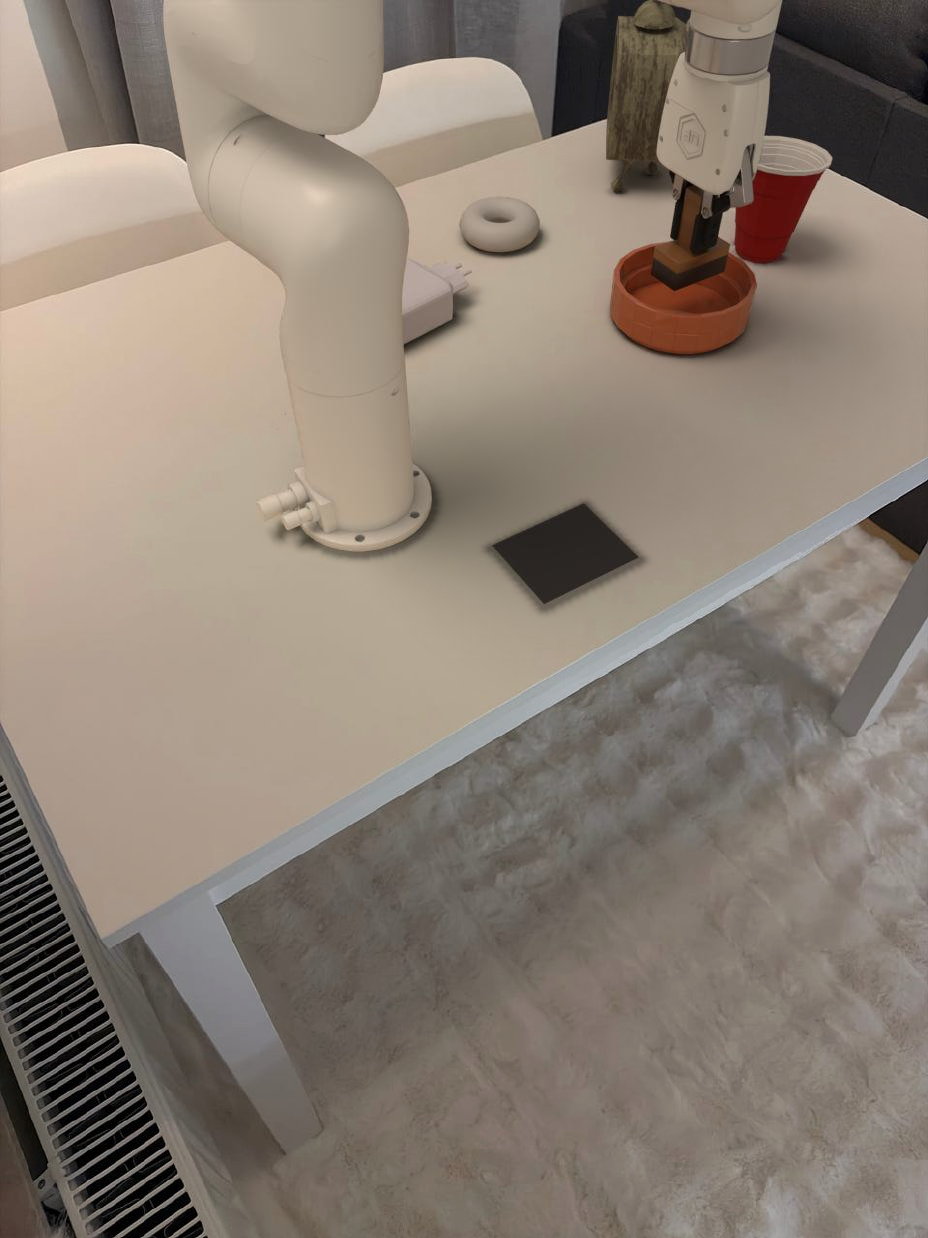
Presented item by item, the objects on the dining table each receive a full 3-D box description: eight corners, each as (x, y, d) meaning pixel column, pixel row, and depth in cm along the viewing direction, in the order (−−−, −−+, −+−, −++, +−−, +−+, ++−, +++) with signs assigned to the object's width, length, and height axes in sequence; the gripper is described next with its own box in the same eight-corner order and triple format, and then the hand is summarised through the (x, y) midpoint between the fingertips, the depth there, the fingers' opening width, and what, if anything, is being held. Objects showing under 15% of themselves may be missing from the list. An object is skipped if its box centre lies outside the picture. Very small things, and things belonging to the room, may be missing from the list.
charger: (493, 302, 106) (392, 355, 99) (440, 271, 110) (340, 320, 104) (493, 264, 102) (389, 316, 96) (438, 234, 106) (335, 281, 100)
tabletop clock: (603, 149, 130) (625, -64, 111) (667, 151, 129) (701, -63, 110) (603, 197, 121) (626, -25, 102) (672, 200, 120) (709, -23, 101)
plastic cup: (817, 242, 113) (847, 141, 104) (786, 282, 107) (815, 179, 98) (733, 219, 117) (755, 120, 108) (700, 257, 111) (720, 156, 102)
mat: (543, 606, 76) (544, 603, 76) (492, 548, 81) (492, 545, 80) (638, 560, 80) (638, 556, 79) (583, 506, 84) (584, 502, 84)
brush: (674, 291, 97) (689, 206, 90) (650, 274, 99) (663, 190, 92) (724, 271, 99) (743, 187, 92) (700, 255, 101) (716, 171, 94)
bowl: (668, 374, 96) (675, 332, 93) (582, 306, 105) (586, 266, 101) (774, 329, 101) (786, 288, 98) (685, 268, 110) (692, 228, 106)
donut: (554, 232, 116) (489, 209, 119) (556, 206, 113) (489, 182, 117) (509, 267, 111) (443, 241, 114) (511, 240, 108) (443, 214, 112)
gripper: (639, 29, 85) (617, 220, 100) (759, 87, 76) (717, 288, 91) (700, 12, 88) (671, 201, 102) (825, 67, 79) (773, 265, 93)
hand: (693, 240), depth 96 cm, fingers closed on brush, 2 cm apart
